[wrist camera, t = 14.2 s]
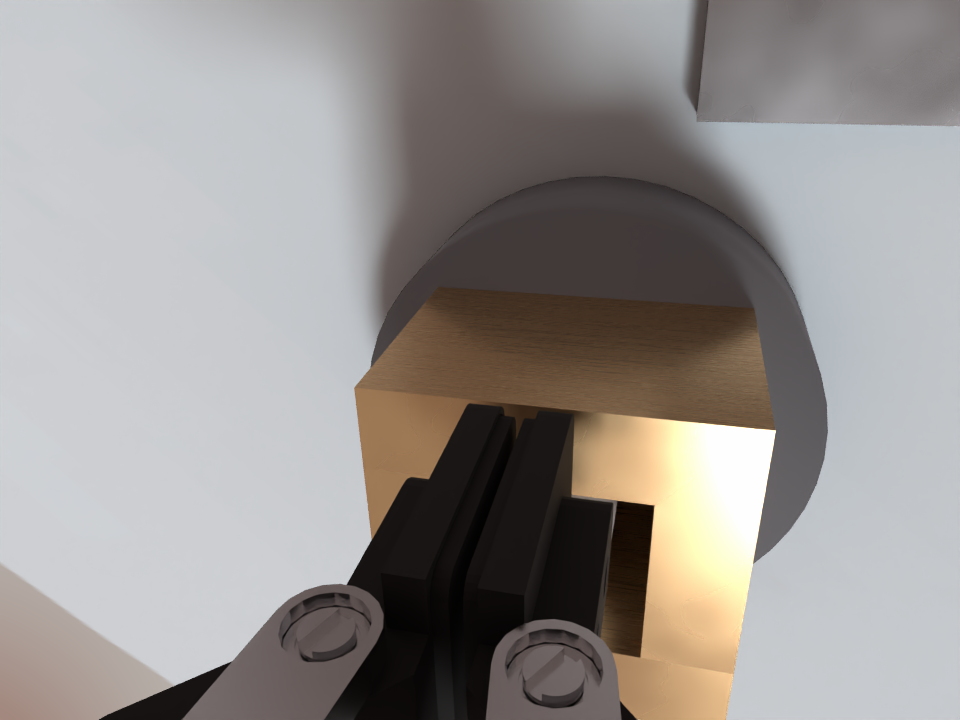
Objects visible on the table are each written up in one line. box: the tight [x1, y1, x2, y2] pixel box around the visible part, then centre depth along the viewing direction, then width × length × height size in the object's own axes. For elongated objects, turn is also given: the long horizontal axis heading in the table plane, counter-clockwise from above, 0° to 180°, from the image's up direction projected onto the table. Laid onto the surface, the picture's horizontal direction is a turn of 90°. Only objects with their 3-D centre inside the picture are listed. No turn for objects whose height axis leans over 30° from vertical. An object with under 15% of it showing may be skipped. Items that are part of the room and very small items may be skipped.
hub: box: [371, 176, 828, 564], centre depth 17 cm, size 11×11×8 cm
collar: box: [354, 287, 775, 720], centre depth 16 cm, size 7×7×5 cm
